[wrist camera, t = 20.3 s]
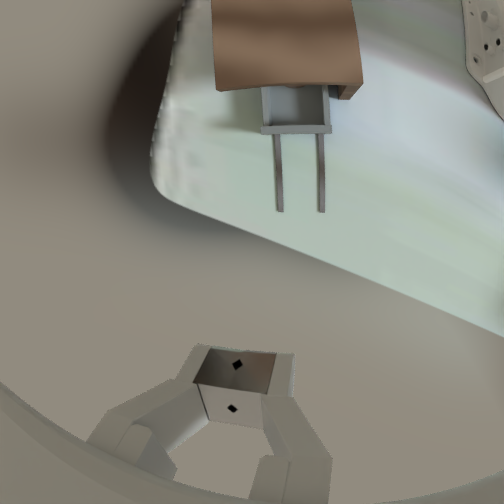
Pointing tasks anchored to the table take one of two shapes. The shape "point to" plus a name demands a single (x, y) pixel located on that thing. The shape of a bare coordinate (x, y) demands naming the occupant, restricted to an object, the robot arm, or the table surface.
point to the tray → (296, 110)
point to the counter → (286, 52)
